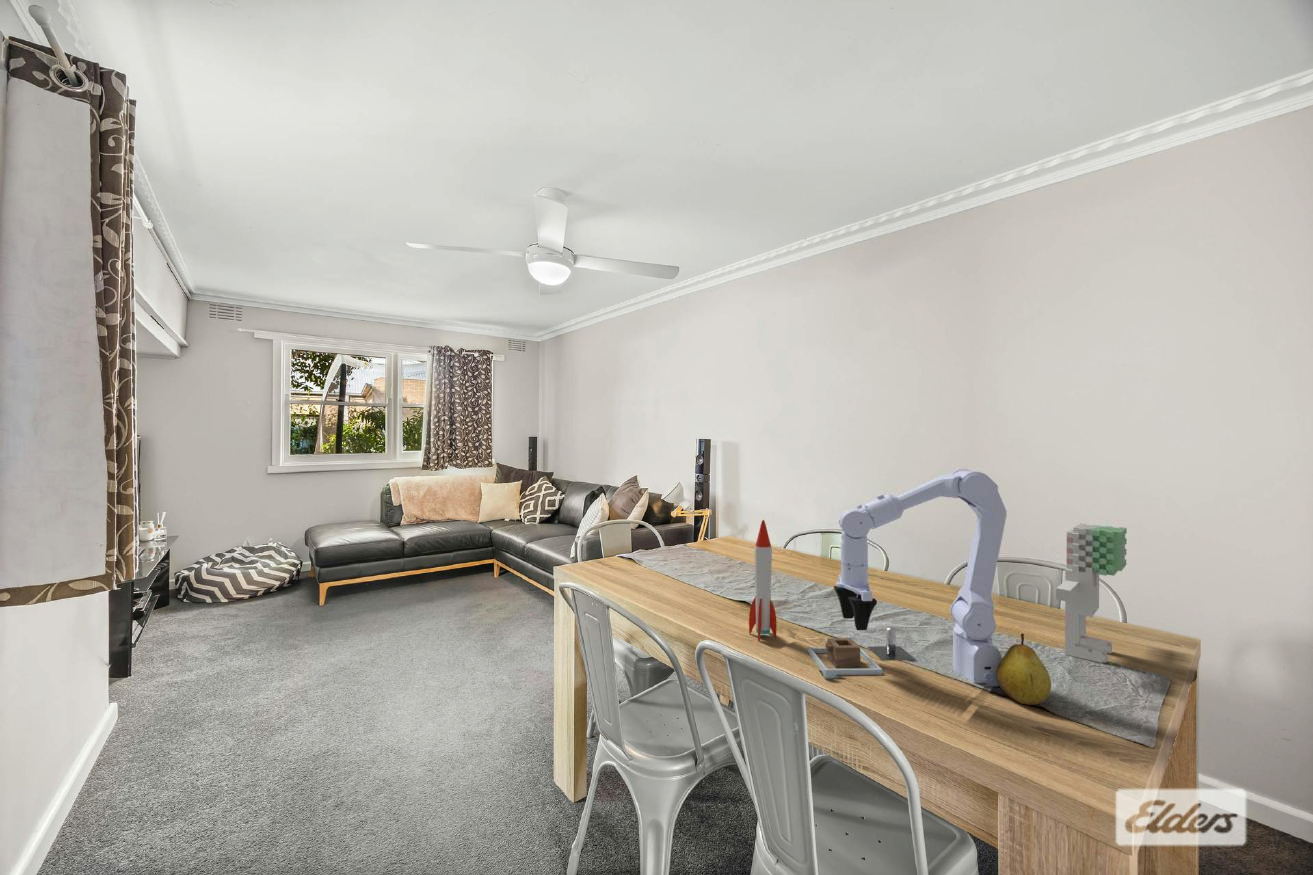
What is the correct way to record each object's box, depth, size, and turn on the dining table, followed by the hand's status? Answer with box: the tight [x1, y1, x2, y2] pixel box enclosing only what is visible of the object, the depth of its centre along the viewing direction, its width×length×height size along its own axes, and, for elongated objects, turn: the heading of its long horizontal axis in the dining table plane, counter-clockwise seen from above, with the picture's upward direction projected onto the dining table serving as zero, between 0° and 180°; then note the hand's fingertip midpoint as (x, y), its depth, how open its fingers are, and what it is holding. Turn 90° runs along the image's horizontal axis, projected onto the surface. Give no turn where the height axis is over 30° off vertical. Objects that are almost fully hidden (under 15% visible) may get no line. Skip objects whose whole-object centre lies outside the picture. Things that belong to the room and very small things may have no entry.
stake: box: [867, 626, 917, 661], centre depth 127 cm, size 8×8×7 cm
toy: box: [1055, 523, 1127, 664], centre depth 129 cm, size 30×10×30 cm, turn 134°
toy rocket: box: [748, 519, 778, 642], centre depth 141 cm, size 6×6×30 cm
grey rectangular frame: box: [807, 646, 883, 680], centre depth 122 cm, size 12×12×2 cm
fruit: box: [996, 633, 1052, 706], centre depth 108 cm, size 9×9×12 cm
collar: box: [825, 637, 861, 669], centre depth 122 cm, size 5×6×5 cm
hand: (854, 623), depth 123 cm, fingers open, 7 cm apart
